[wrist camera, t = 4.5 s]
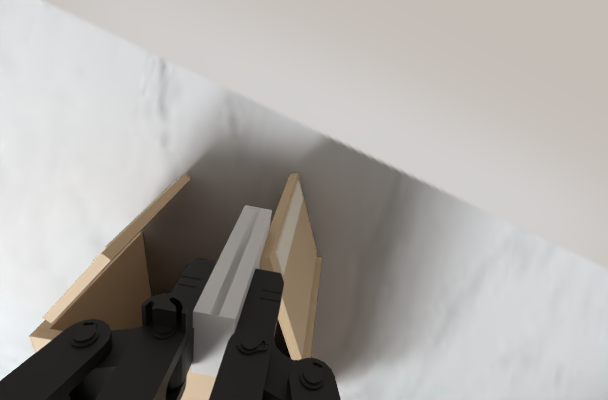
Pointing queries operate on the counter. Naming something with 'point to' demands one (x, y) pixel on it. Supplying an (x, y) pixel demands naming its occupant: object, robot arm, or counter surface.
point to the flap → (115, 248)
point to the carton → (139, 308)
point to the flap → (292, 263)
